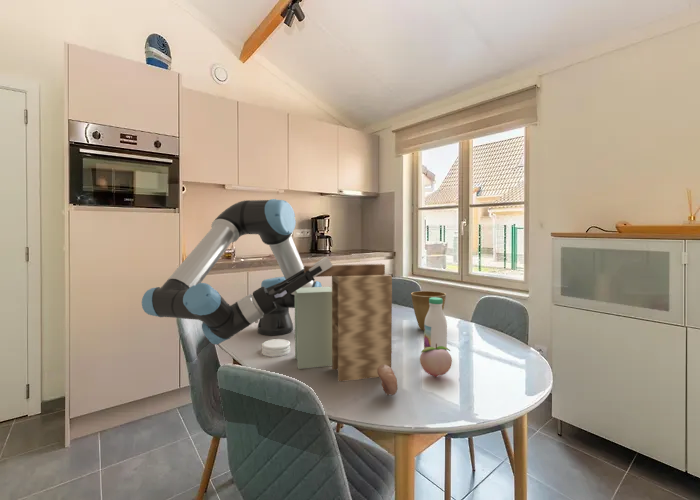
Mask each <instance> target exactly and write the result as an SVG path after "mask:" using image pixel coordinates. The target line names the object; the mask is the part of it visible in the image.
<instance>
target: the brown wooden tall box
mask: <svg viewBox="0 0 700 500" xmlns="http://www.w3.org/2000/svg"><path fill="white" fill-rule="evenodd" d="M331 288H332V366H331V368H332V370H333V371H337V380H338V382H345V381H354V380H355V381H356V380H363V379H364V380H365V379H373V378H380V377H379V375H378V372H377V369H378V367H379V366H381V365H388V366H389V367H391V368H392V354H393V353H392V350H393V349H392V337H393V336H392V331H393V330H392V329H393V327H392V326H393V325H392V322H393V321H392V320H393V319H392V318H393V316H392V315H393V303H392V302H393V275H390V274H388V273H385V274H384V275H354V276H331Z"/></svg>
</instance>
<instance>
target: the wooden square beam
mask: <svg viewBox="0 0 700 500" xmlns="http://www.w3.org/2000/svg"><path fill="white" fill-rule="evenodd" d="M332 265H333V266H332V267H330V268H329V269H327V270H325V271H324V272H322V273H321V274H319V275H317V276H316V277H315V278H317V277H324V278H325V277H332V276H354V275H384V274H386V269H385V268H386V267H385V266H386V265H385V264H383V263H359V264H358V263H357V264H354V263H352V264H332ZM313 266H315V265H313V264H310V265H304V273H305V272H306V271H309V269H310V268H312V267H313Z"/></svg>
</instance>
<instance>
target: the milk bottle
mask: <svg viewBox="0 0 700 500" xmlns="http://www.w3.org/2000/svg"><path fill="white" fill-rule="evenodd" d="M442 303H443V299H442V298H438V297H432V298H429V305H430V307H429V311H428V313H427V315H426V317H425V322H424V331H423V349H425V348H427V347H436V344H437V347H438V346H444V347H447V346H448V343H447V342H448V329H447V328H448V324H447V323H448V322H447V317H446V316H445V315H446V314H445V312H444V309H443V310H442V305H443V304H442ZM447 348H448V347H447Z"/></svg>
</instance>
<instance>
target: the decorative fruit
mask: <svg viewBox="0 0 700 500" xmlns="http://www.w3.org/2000/svg"><path fill="white" fill-rule="evenodd" d="M450 352H451V350H450V349H449V348H448V347H444V346H438V347H437V344H436V347H427V348H425V349H424V348H423V349H422V350H421V352H420V353H421V354H420V357H419V362H420V366H421V368H422V369H423V370H424V371H425V373H427V374H428V375H430V376H432V377H435V378H437V377H439V376H443V375H445V374H447V373H448V372H449V371H450V369H451V367H452V365H453V364H452V363H453V359H452V355H451V354H450Z"/></svg>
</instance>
